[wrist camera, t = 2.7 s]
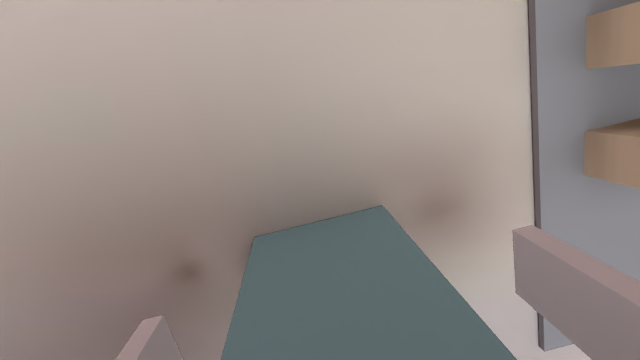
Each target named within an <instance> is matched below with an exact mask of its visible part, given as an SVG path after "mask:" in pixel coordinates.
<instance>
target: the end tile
mask: <svg viewBox="0 0 640 360" xmlns="http://www.w3.org/2000/svg"><path fill="white" fill-rule="evenodd" d="M221 360H517V359H516V358H515V357H514V356H513V355H512V353H511V352H510V351H509V350H508V349H507V348H506V347H505V345H504V344H503V343H502V342H501V341H500V340H499V339H498V337H497V336H496V335H495V334H494V333H493V332H492V331H491V329H490V328H489V327H488V326H487V325H486V324H485V322H484V321H483V320H482V319H481V318H480V317H479V316H478V314H477V313H476V312H475V311H474V310H473V309H472V308H471V306H470V305H469V304H468V303H467V302H466V301H465V300H464V298H463V297H462V296H461V295H460V294H459V293H458V292H457V290H456V289H455V288H454V287H453V286H452V285H451V284H450V282H449V281H448V280H447V279H446V278H445V277H444V276H443V274H442V273H441V272H440V271H439V270H438V269H437V268H436V266H435V265H434V264H433V263H432V262H431V261H430V260H429V258H428V257H427V256H426V255H425V254H424V253H423V252H422V250H421V249H420V248H419V247H418V246H417V245H416V243H415V242H414V241H413V240H412V239H411V238H410V237H409V235H408V234H407V233H406V232H405V231H404V230H403V229H402V227H401V226H400V225H399V224H398V223H397V222H396V221H395V219H394V218H393V217H392V216H391V215H390V214H389V213H388V211H387V210H386V209H385V208H384V207H383V206H378V207H374V208H370V209H366V210H362V211H358V212H354V213H350V214H346V215H342V216H338V217H334V218H330V219H326V220H322V221H318V222H314V223H310V224H305V225H301V226H297V227H293V228H289V229H285V230H281V231H277V232H273V233H269V234H265V235H261V236H257V237H254V240H253V244H252V248H251V251H250V255H249V259H248V262H247V266H246V270H245V273H244V277H243V280H242V284H241V288H240V291H239V295H238V299H237V302H236V306H235V310H234V313H233V317H232V321H231V324H230V328H229V331H228V335H227V339H226V342H225V346H224V350H223V353H222V357H221Z"/></svg>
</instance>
